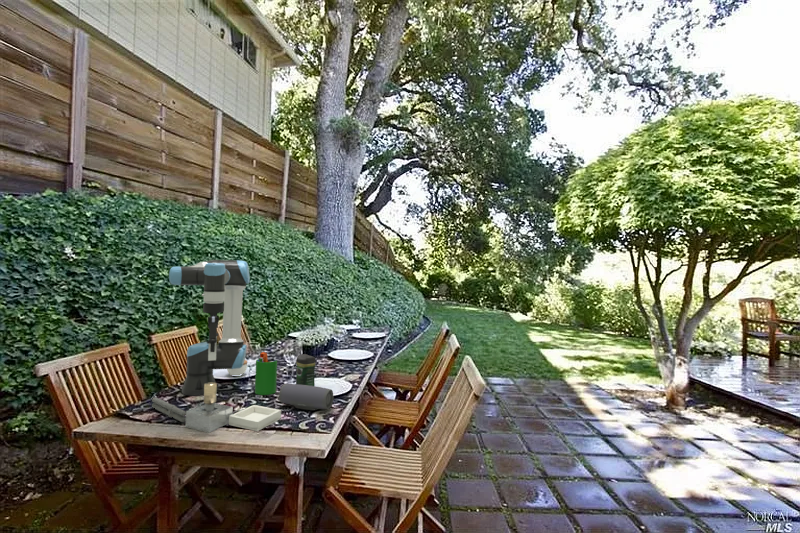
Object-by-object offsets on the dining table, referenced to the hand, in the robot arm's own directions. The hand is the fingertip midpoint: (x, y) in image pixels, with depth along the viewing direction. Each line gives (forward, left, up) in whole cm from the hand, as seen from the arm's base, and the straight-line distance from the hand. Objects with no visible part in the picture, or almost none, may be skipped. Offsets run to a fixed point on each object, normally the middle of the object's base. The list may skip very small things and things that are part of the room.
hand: (212, 356), depth 161 cm
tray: (+14, +10, -27) cm, 32 cm away
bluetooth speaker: (+23, +32, -27) cm, 47 cm away
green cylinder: (-7, +41, -27) cm, 49 cm away
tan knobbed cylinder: (0, 0, -27) cm, 27 cm away
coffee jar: (+10, +50, -27) cm, 57 cm away
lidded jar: (-40, +57, -27) cm, 75 cm away
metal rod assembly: (-22, 0, -27) cm, 35 cm away
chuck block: (0, 0, -27) cm, 27 cm away
